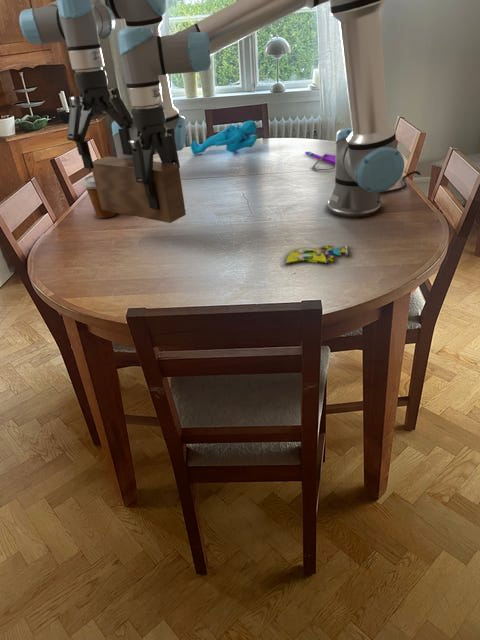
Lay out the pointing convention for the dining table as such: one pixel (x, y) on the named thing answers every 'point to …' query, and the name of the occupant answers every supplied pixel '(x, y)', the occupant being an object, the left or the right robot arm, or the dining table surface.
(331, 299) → the dining table surface
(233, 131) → the toy
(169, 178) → the box
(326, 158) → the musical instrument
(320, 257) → the toy
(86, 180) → the disposable coffee cup
